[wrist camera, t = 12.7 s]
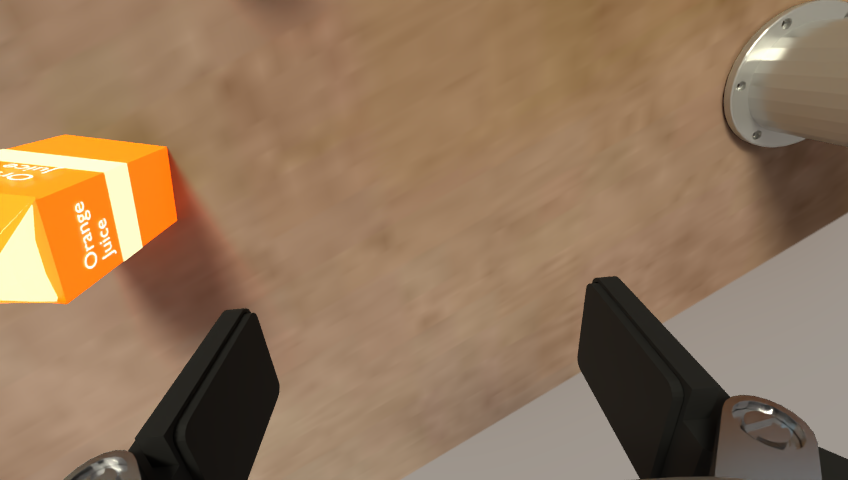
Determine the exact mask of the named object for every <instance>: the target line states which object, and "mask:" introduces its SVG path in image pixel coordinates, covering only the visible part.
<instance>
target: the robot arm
mask: <svg viewBox="0 0 848 480" xmlns="http://www.w3.org/2000/svg"><path fill="white" fill-rule="evenodd" d="M724 111H725V116H726V119H727V122H728V125H729V126H730V128H731V129H732V131H733V132H734V134H736V135H737V136H738V137H739V138H740V139H741V140H743V141H746V142H748V143H750V144H753V145H757V146H761V147H771V148H775V147H783V146H788V145H791V144H795V143H798V142H800V141H802V140H804V139H806V138H807V139H811V140H816V141H821V142H826V143H830V144H835V145H840V146H845V147H848V2H845V1H841V0H816V1H809V2H805V3H802V4H799V5H796V6H793V7H791V8H789V9H787V10H785V11H783V12H781V13H780V14H778V15H777V16H775V17H774V18H772V19H771V20H770V21H768V22H767V23H766V24H765V25H764V26H762V27H761V28H760V29H759V30H758V31H757V32H756V33H755V34H754V35H753V36H752V38H751V39H750V40H749V41H748V43H747V44H746V45H745V46H744V48H743V49H742V51H741V52H740V54H739V56H738V57H737V59H736V60H735V62H734V64H733V67H732V69H731V71H730V74H729V76H728V80H727V83H726V87H725V93H724ZM578 365H579V368H580V370H581V372H582V374H583V375H584V377H585V379H586V381H587V382H588V385H589V386H590V388H591V390H592V392H593V394H594V396H595V397H596V399H597V401H598V403H599V405H600V407H601V408H602V410H603V412H604V414H605V416H606V417H607V419H608V421H609V423H610V425H611V427H612V428H613V430H614V432H615V434H616V436H617V438H618V439H619V441H620V443H621V445H622V446H623V448H624V450H625V452H626V454H627V456H628V458H629V459H630V461H631V463H632V465H633V467H634V469H635V471H636V472H637V474H638V476H639V478H640V479H639V480H848V459H846V458H844V457H841V456H839V455H837V454H834V453H832V452H829V451H827V450H825V449H823V448H820V447H818V443H817V440H816V437H815V434H814V433H813V431H812V430H811V429H810V427H809V426H808V425H807V424H806V423H805V422H804V421H803V420H802V419H801V418H799V417H798V416H797V415H796V414H794V413H793V412H791V411H790V410H788V409H786V408H785V407H783V406H782V405H779V404H777V403H775V402H772V401H770V400H767V399H763V398H760V397H756V396H750V395H738V396H732V397H730V396H729V395H728V394H727V393H726V392H725V391H724V390H723V389H722V388H721V386H720V385H719V384H718V383H717V382H716V381H715V380H714V379H713V378H712V377H711V376H710V375H709V374H708V373H707V372H706V370H705V369H704V368H703V367H702V366H701V365H700V364H699V363H698V362H697V361H696V360H695V359H694V358H693V357H692V356H691V354H690V353H689V352H688V351H687V350H686V349H685V348H684V347H683V346H682V345H681V344H680V343H679V342H678V341H677V340H676V339H675V337H674V336H673V335H672V334H671V333H670V332H669V331H668V330H667V329H666V328H665V327H664V326H663V325H662V323H661V322H660V321H659V320H658V319H657V318H656V317H655V316H654V315H653V314H652V313H651V312H650V311H649V310H648V309H647V307H646V306H645V305H644V304H643V303H642V302H641V301H640V300H639V299H638V298H637V297H636V296H635V295H634V294H633V293H632V291H631V290H630V289H629V288H628V287H627V286H626V285H625V284H624V283H623V282H622V281H621V280H620V279H619V278H618V277H616V276H613V277H601V278H595V279H594V280H593V282H592V283H591V284H588V285H587V288H586V295H585V302H584V310H583V318H582V326H581V333H580V341H579V349H578ZM278 395H279V381H278V378H277V375H276V372H275V369H274V366H273V363H272V360H271V357H270V354H269V351H268V348H267V345H266V342H265V339H264V335H263V332H262V329H261V326H260V323H259V320H258V317H257V315H256V314H255V313H251V312H250V311H249V309H246V308H245V309H233V310H226V311H224V312H223V313H222V314H221V316H220V317H219V319H218V320H217V322H216V323H215V324H214V326H213V327H212V329H211V330H210V332H209V333H208V334H207V336H206V337H205V339H204V340H203V342H202V343H201V344H200V346H199V347H198V349H197V350H196V352H195V353H194V354H193V356H192V357H191V359H190V360H189V362H188V363H187V364H186V366H185V367H184V369H183V370H182V372H181V373H180V374H179V376H178V377H177V379H176V380H175V382H174V383H173V384H172V386H171V387H170V389H169V390H168V392H167V393H166V394H165V396H164V397H163V399H162V400H161V402H160V403H159V404H158V406H157V407H156V409H155V410H154V412H153V413H152V414H151V416H150V417H149V419H148V420H147V422H146V423H145V424H144V426H143V427H142V429H141V430H140V432H139V433H138V434H137V436H136V437H135V442H134V443H133V445H132V446H131V448H130V449H129V450H128V451H126V450H114V451H110V452H107V453H103V454H101V455H99V456H96V457H94V458H92V459H90V460H88V461H87V462H85V463H84V464H82V465H81V466H79V467H77V468H76V469H75V470H74V471H73V472H71V473H70V474H69V475H68V476H67V477H66V478H64V480H248V477H249V474H250V471H251V469H252V466H253V463H254V461H255V458H256V455H257V452H258V450H259V447H260V444H261V442H262V439H263V436H264V434H265V431H266V428H267V425H268V423H269V420H270V417H271V415H272V412H273V409H274V407H275V404H276V401H277V398H278Z"/></svg>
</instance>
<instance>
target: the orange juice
mask: <svg viewBox="0 0 848 480" xmlns="http://www.w3.org/2000/svg"><path fill="white" fill-rule="evenodd" d="M176 221H177V215H176V208H175V201H174V194H173V187H172V180H171V173H170V166H169V159H168V152H167V147H164V146H155V145H147V144H139V143H131V142H122V141H114V140H106V139H97V138H89V137H81V136H72V135H62V136H58V137H53V138H49V139H45V140H41V141H37V142H33V143H29V144H25V145H21V146H17V147H13V148H9V149H2V150H0V303H60V304H68V303H69V302H70V301H72V300H73V299H74V298H76V297H77V296H78V295H80V294H81V293H82V292H84V291H85V290H86V289H88V288H89V287H90V286H92V285H93V284H94V283H95V282H97V281H98V280H99V279H101V278H102V277H103V276H105V275H106V274H107V273H109V272H110V271H111V270H113V269H114V268H115V267H117V266H118V265H119V264H120V263H122V262H124V261H126V260H127V259H128V258H130V257H131V256H132V255H133V254H135V253H136V252H137V251H139V250H140V249H141V248H143V246H144V245H145V244H147V243H148V242H149V241H151V240H152V239H153V238H155V237H156V236H157V235H159V234H160V233H161V232H163V231H164V230H165V229H167V228H168V227H169V226H170V225H172V224H173V223H174V222H176Z"/></svg>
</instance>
